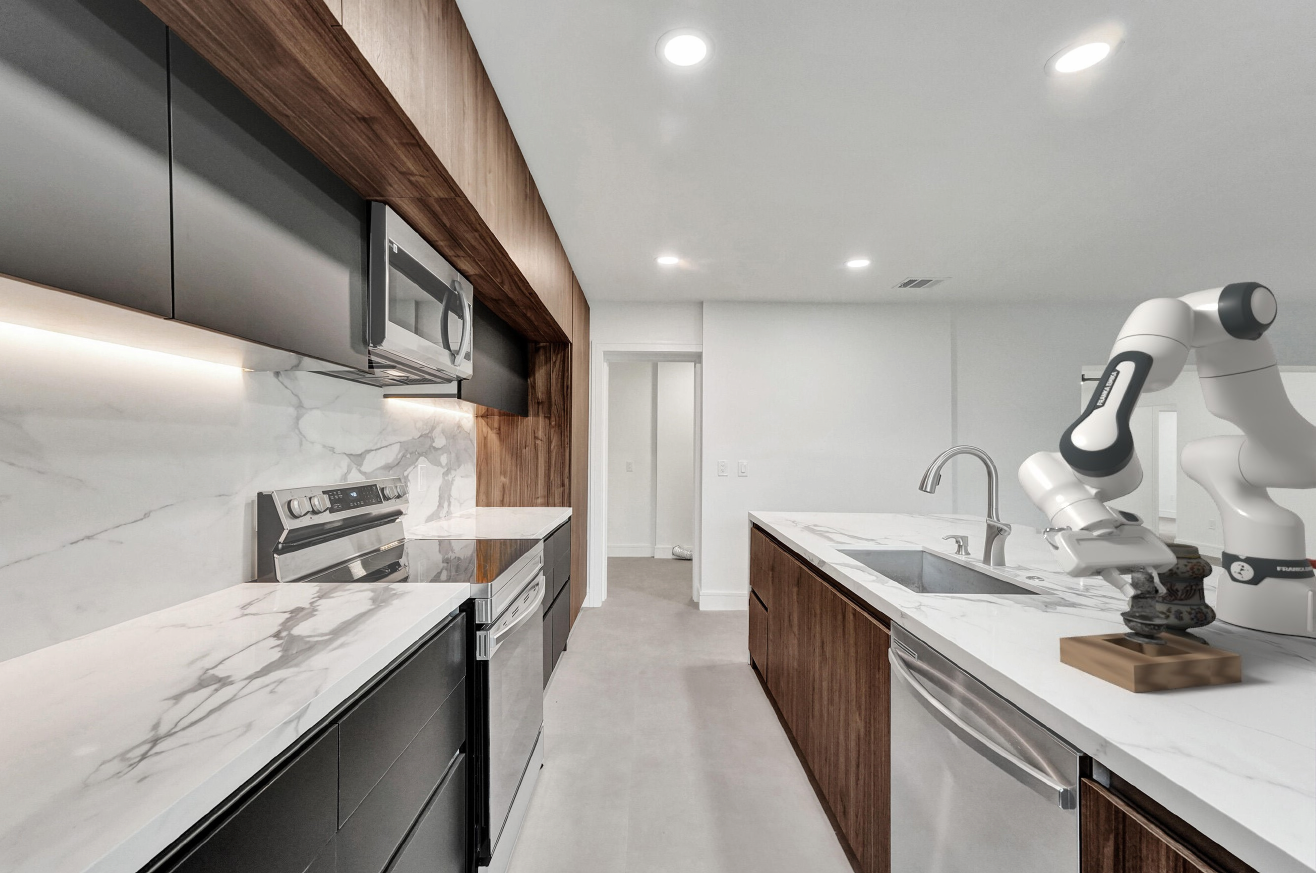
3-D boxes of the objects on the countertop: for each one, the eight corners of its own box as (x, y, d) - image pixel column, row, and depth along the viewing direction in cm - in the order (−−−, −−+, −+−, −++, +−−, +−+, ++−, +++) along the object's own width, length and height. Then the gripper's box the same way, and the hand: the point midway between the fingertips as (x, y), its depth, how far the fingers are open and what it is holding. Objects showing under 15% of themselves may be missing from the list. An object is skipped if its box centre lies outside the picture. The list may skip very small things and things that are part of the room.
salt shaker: (1149, 633, 89) (1147, 562, 89) (1180, 646, 83) (1177, 569, 83) (1111, 632, 89) (1109, 561, 90) (1139, 645, 84) (1137, 569, 84)
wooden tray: (1156, 652, 94) (1155, 630, 94) (1242, 681, 82) (1240, 655, 82) (1060, 661, 90) (1059, 637, 90) (1134, 692, 78) (1133, 665, 79)
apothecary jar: (1178, 629, 106) (1174, 539, 106) (1237, 652, 94) (1233, 550, 94) (1112, 628, 107) (1109, 538, 107) (1163, 650, 95) (1159, 549, 95)
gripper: (1048, 517, 92) (1107, 587, 82) (1145, 514, 95) (1213, 581, 85) (1027, 538, 96) (1080, 608, 86) (1121, 535, 100) (1182, 601, 90)
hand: (1147, 595), depth 86 cm, fingers closed on salt shaker, 4 cm apart
